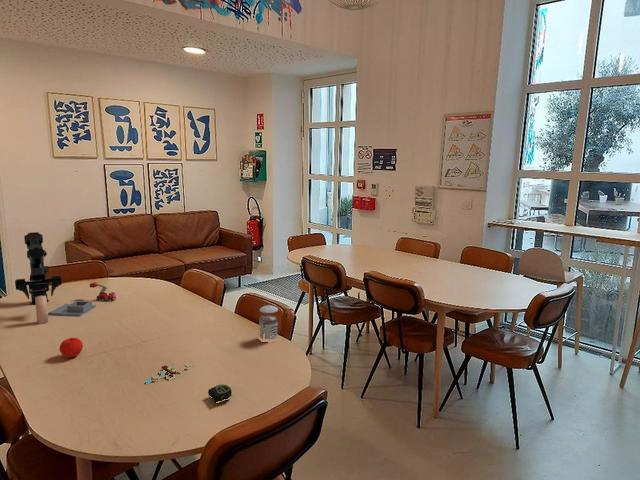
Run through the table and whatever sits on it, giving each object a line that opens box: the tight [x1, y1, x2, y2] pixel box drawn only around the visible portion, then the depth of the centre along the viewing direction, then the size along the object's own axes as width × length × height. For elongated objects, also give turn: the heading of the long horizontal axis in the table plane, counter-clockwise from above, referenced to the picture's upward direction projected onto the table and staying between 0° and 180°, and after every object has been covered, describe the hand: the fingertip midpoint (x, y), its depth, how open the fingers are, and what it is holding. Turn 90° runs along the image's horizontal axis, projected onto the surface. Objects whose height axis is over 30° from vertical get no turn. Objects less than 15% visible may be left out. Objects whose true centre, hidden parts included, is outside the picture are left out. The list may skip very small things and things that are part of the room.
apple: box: [58, 337, 84, 358], centre depth 169 cm, size 8×8×7 cm
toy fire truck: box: [89, 281, 117, 302], centre depth 237 cm, size 3×14×10 cm, turn 84°
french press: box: [258, 284, 279, 339], centre depth 190 cm, size 10×12×25 cm
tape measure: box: [207, 384, 233, 404], centre depth 142 cm, size 7×7×4 cm
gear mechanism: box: [144, 362, 192, 384], centre depth 158 cm, size 20×5×9 cm
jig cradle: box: [48, 300, 96, 317], centre depth 219 cm, size 16×14×4 cm
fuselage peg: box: [35, 296, 49, 325], centre depth 202 cm, size 4×4×12 cm
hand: (40, 297), depth 204 cm, fingers open, 9 cm apart
